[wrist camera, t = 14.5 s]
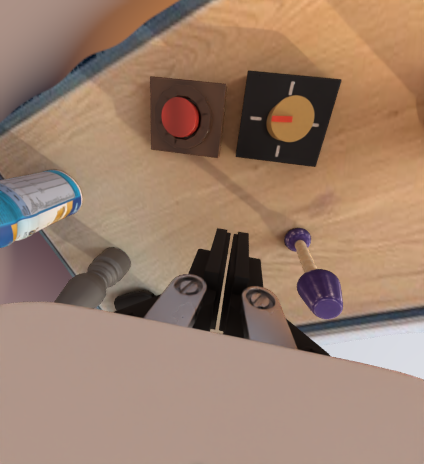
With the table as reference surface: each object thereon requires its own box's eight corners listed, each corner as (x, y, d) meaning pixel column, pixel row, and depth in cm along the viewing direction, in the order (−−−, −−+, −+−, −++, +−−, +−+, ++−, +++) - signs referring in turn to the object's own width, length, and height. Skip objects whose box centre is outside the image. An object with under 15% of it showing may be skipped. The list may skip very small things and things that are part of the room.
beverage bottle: (81, 172, 37) (-69, 210, 19) (87, 217, 41) (-35, 285, 23) (35, 164, 38) (-152, 195, 20) (45, 210, 42) (-106, 270, 24)
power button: (200, 101, 27) (197, 98, 26) (198, 138, 29) (194, 139, 28) (166, 97, 28) (161, 94, 26) (166, 134, 30) (161, 135, 28)
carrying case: (184, 333, 51) (156, 283, 46) (180, 345, 48) (150, 293, 43) (145, 340, 53) (114, 293, 48) (139, 351, 51) (107, 303, 46)
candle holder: (120, 243, 43) (-19, 370, 20) (136, 269, 45) (26, 409, 22) (95, 252, 44) (-58, 377, 22) (112, 276, 46) (-13, 413, 24)
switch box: (227, 86, 30) (224, 80, 26) (219, 156, 33) (216, 159, 30) (155, 79, 30) (143, 72, 27) (156, 148, 34) (145, 150, 31)
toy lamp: (279, 249, 38) (301, 324, 23) (282, 224, 37) (309, 290, 22) (308, 250, 38) (349, 329, 23) (312, 225, 36) (361, 294, 21)
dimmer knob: (305, 102, 27) (320, 95, 22) (297, 141, 29) (309, 143, 24) (269, 101, 27) (275, 94, 22) (264, 139, 29) (268, 141, 24)
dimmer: (334, 83, 28) (342, 79, 25) (310, 164, 32) (316, 167, 30) (247, 75, 29) (248, 69, 26) (236, 155, 33) (235, 157, 31)
